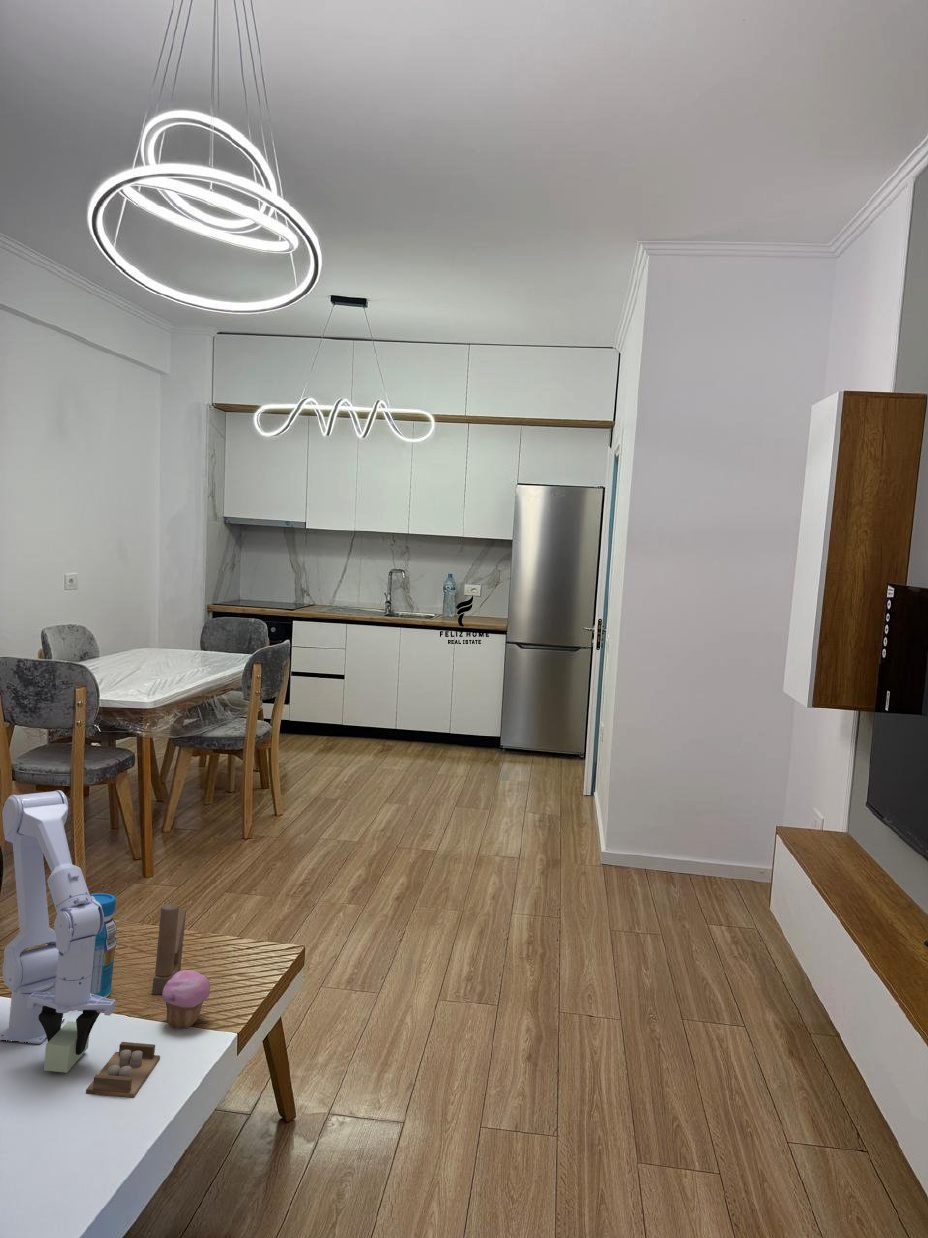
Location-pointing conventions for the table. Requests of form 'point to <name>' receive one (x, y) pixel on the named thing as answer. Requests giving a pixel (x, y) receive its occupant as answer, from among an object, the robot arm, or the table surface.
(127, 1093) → the peg frame
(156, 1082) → the table surface
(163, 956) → the wooden block
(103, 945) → the beverage bottle
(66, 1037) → the pale green block
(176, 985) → the cupcake
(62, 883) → the robot arm
